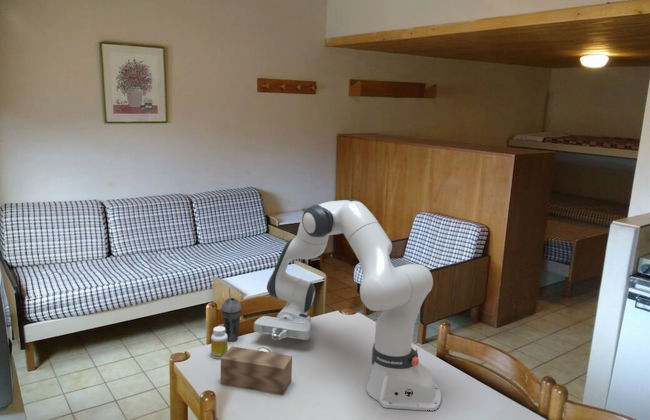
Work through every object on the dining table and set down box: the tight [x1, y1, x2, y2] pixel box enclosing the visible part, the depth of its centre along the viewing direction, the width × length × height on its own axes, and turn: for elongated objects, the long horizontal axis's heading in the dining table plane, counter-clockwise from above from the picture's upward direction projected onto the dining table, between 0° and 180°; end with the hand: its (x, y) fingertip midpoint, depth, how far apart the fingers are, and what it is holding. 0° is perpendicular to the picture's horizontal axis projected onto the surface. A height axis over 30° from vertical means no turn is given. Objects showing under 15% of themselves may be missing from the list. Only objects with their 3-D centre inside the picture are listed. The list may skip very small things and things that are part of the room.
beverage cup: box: [221, 287, 243, 343], centre depth 178 cm, size 7×7×20 cm
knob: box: [257, 346, 273, 353], centre depth 154 cm, size 5×9×5 cm, turn 166°
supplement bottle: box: [210, 325, 229, 360], centre depth 167 cm, size 5×5×10 cm
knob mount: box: [220, 345, 293, 396], centre depth 152 cm, size 20×8×8 cm, turn 76°
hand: (275, 337), depth 169 cm, fingers closed
